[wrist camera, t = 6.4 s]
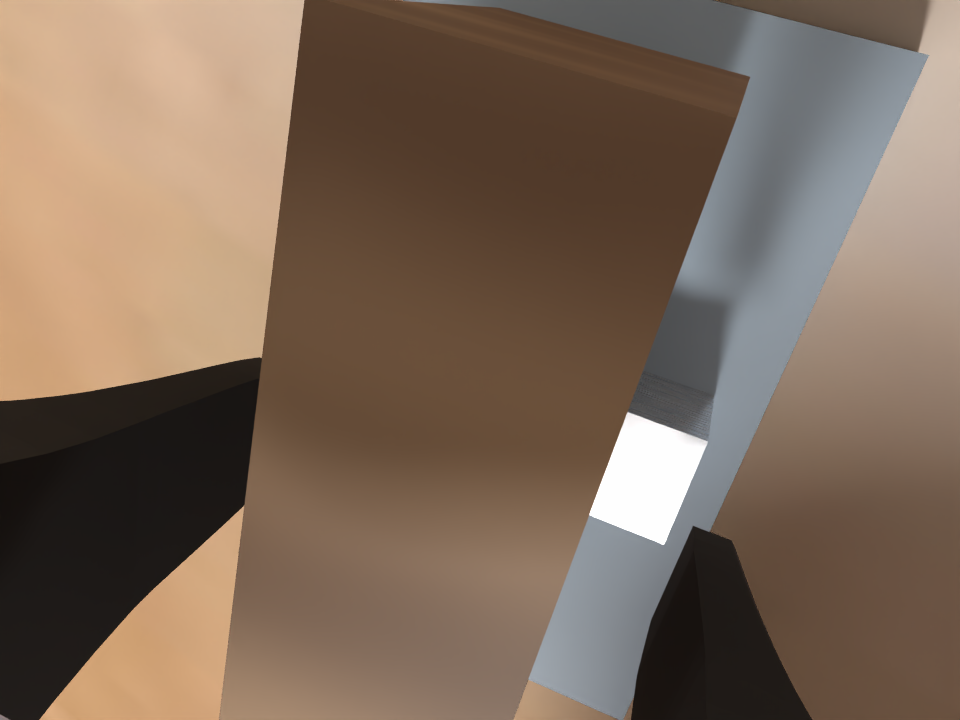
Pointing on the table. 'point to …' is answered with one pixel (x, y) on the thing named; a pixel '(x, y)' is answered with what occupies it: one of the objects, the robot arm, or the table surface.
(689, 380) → the blue-grey flat rectangular panel
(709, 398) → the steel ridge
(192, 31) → the table surface
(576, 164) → the walnut plank
